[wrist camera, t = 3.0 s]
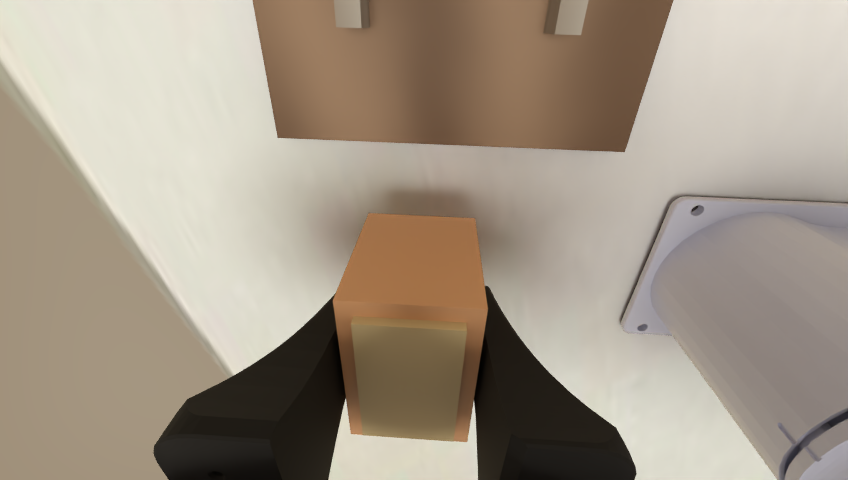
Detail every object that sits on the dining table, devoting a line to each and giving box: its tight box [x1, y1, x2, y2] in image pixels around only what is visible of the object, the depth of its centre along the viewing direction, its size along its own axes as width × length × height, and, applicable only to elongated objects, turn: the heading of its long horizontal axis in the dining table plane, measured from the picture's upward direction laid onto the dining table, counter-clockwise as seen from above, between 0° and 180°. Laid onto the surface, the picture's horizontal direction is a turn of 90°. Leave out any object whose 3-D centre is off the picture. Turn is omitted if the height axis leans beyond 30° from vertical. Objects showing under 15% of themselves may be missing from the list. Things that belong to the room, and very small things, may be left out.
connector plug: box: [333, 213, 488, 442], centre depth 13 cm, size 4×6×5 cm, turn 178°
